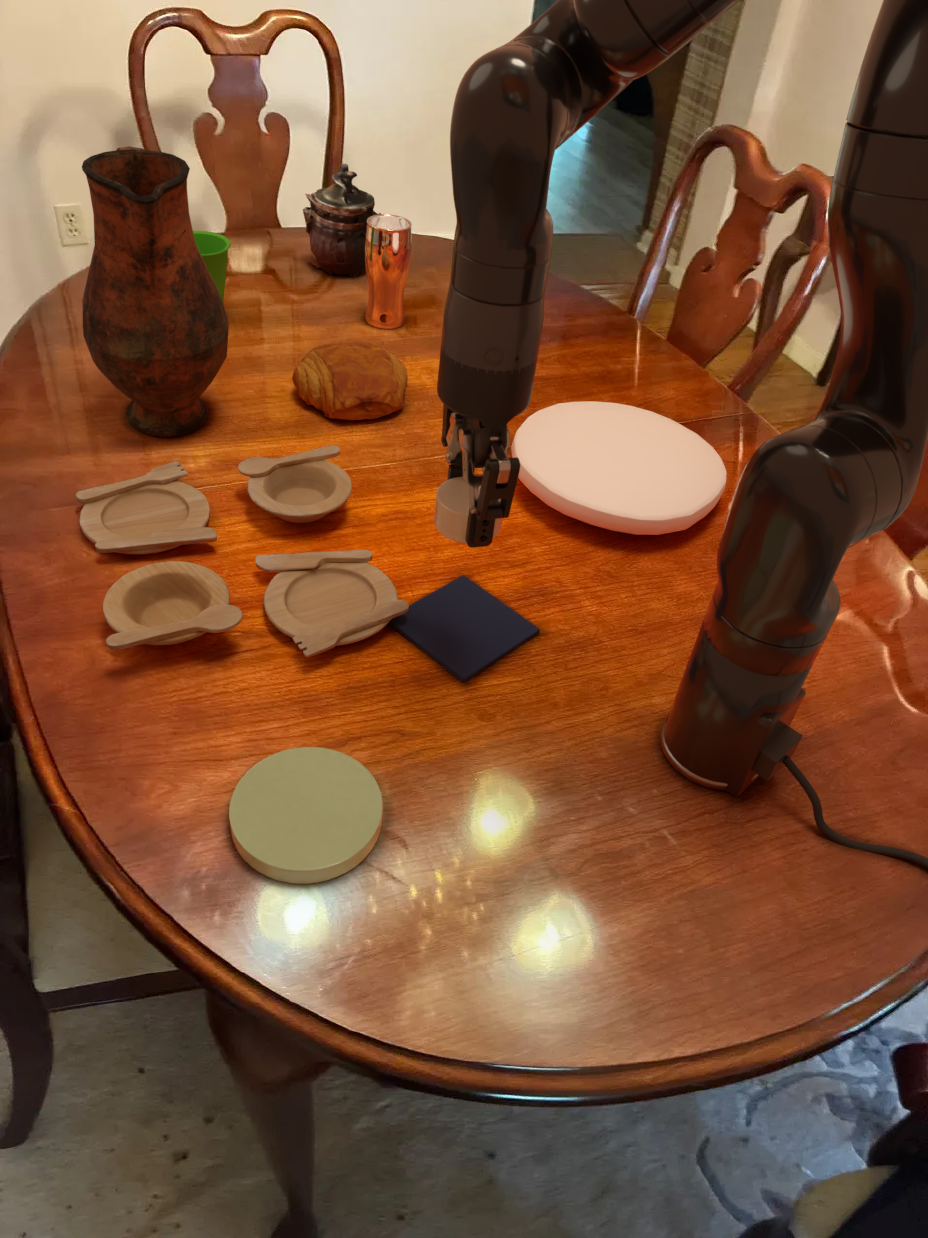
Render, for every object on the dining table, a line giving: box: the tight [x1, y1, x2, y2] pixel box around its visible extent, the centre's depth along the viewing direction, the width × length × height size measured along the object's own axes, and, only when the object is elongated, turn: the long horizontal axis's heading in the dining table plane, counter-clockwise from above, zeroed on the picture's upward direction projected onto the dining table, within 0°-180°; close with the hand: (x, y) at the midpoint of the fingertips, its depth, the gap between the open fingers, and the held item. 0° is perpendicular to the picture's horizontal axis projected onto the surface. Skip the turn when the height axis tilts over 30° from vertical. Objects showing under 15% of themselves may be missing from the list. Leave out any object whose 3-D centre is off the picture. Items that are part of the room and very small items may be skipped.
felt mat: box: [387, 574, 541, 684], centre depth 93 cm, size 11×11×1 cm
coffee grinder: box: [302, 163, 382, 278], centre depth 151 cm, size 13×15×18 cm
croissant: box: [291, 339, 409, 421], centre depth 123 cm, size 14×16×8 cm
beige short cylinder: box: [433, 477, 503, 545], centre depth 81 cm, size 6×6×3 cm
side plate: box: [228, 746, 384, 885], centre depth 74 cm, size 12×12×2 cm
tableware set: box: [75, 444, 410, 658], centre depth 95 cm, size 35×29×4 cm
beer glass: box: [364, 213, 413, 330], centre depth 139 cm, size 7×7×15 cm
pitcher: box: [81, 146, 230, 438], centre depth 109 cm, size 17×21×30 cm
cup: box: [193, 230, 231, 303], centre depth 136 cm, size 9×9×11 cm
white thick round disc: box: [510, 400, 728, 536], centre depth 114 cm, size 28×6×27 cm
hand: (467, 521), depth 82 cm, fingers closed on beige short cylinder, 6 cm apart
